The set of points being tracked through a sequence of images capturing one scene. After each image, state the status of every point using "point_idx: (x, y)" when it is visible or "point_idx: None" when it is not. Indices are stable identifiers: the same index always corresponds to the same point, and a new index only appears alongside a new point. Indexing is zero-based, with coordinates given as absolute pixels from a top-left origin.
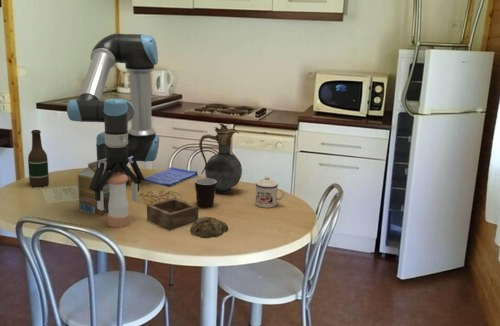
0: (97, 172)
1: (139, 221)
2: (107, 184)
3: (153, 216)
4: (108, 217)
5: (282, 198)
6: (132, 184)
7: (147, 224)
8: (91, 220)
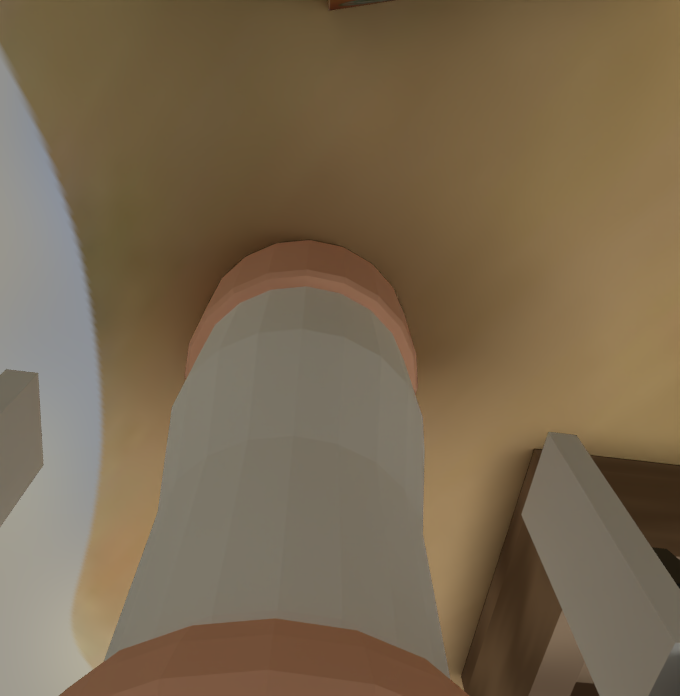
0: None
1: (465, 429)
2: None
3: (525, 568)
4: (190, 344)
5: None
6: (647, 645)
7: (453, 515)
8: (159, 46)
